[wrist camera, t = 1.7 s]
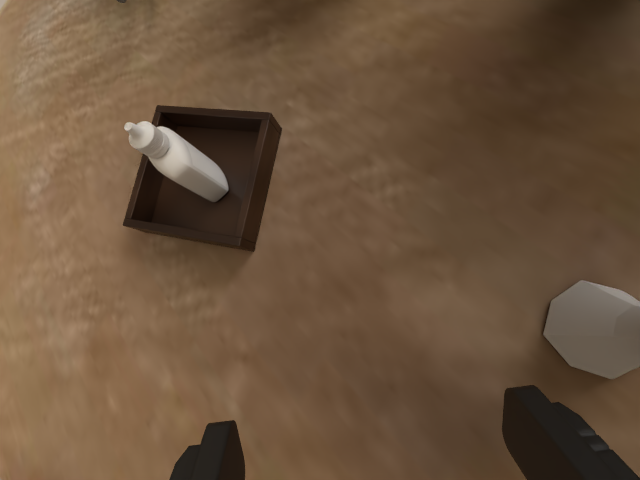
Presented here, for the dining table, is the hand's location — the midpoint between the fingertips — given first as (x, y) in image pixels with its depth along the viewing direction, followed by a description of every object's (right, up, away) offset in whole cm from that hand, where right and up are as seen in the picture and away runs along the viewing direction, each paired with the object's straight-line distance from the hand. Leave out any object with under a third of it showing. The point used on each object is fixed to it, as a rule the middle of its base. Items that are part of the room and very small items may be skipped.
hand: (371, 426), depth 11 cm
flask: (+20, -1, +18) cm, 27 cm away
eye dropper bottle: (-13, +12, +28) cm, 34 cm away
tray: (-13, +12, +29) cm, 34 cm away
